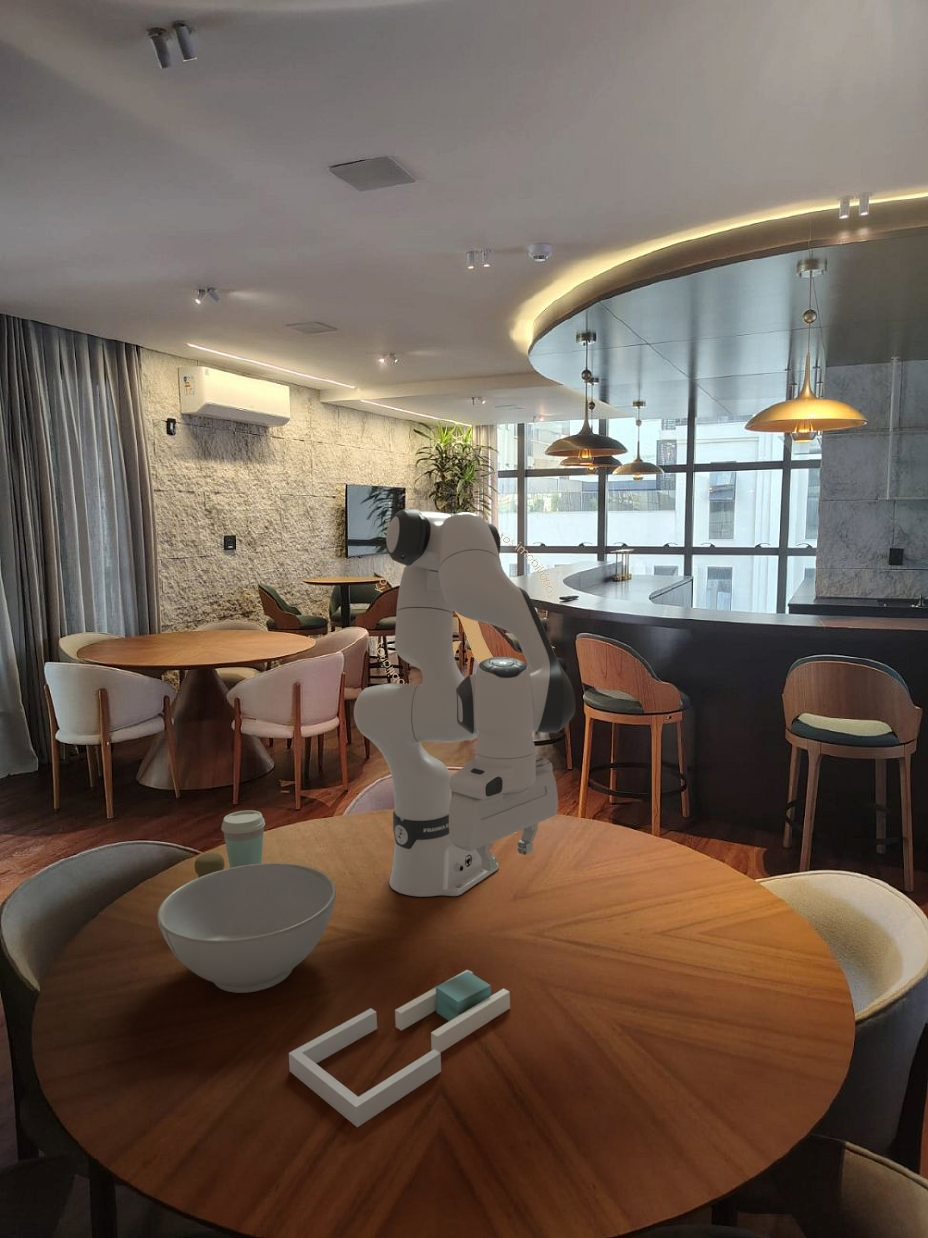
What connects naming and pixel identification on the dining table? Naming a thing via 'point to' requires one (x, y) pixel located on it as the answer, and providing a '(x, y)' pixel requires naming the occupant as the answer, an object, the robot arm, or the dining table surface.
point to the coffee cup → (244, 837)
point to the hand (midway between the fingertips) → (507, 860)
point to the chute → (458, 1025)
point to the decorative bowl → (248, 923)
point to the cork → (209, 864)
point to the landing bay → (342, 1097)
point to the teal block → (460, 995)
